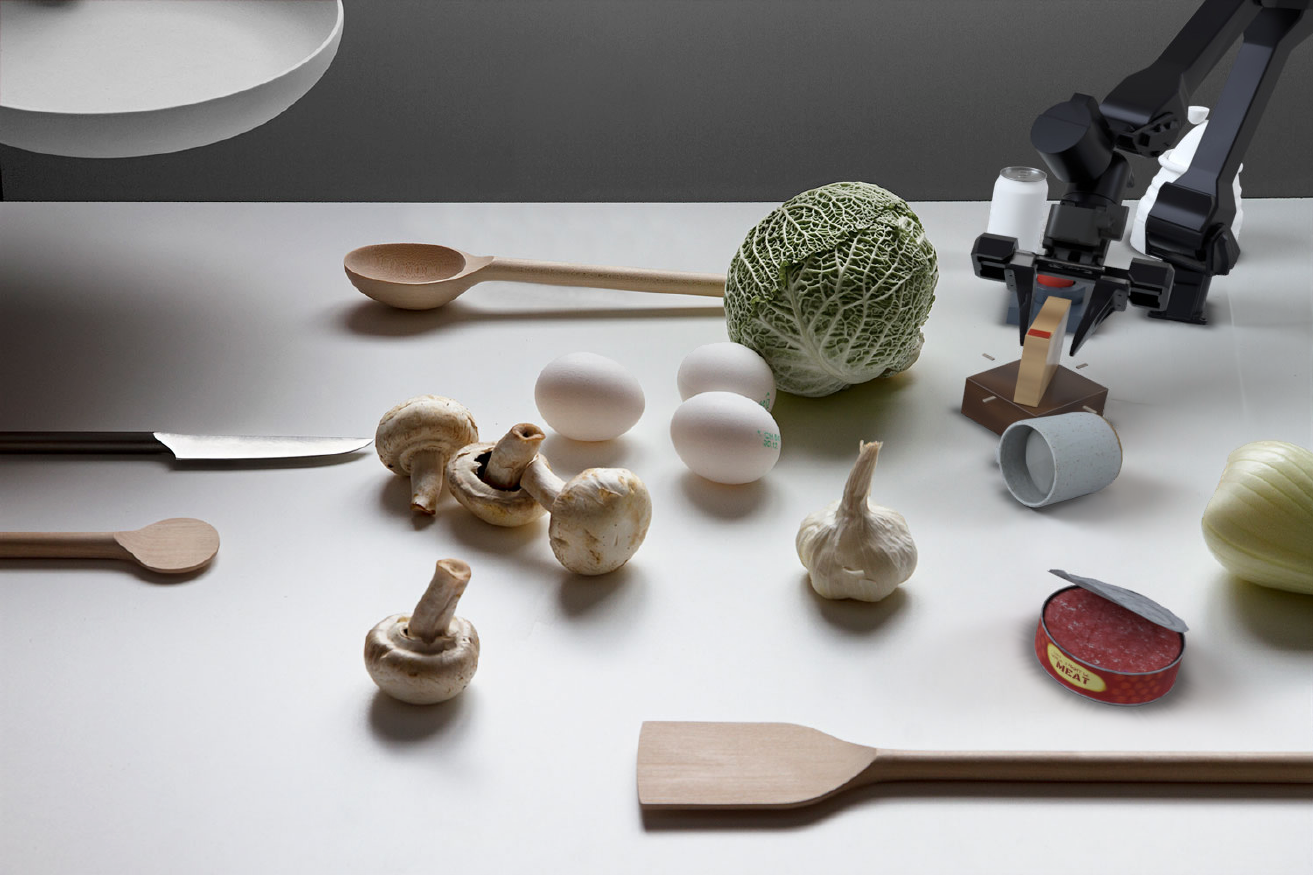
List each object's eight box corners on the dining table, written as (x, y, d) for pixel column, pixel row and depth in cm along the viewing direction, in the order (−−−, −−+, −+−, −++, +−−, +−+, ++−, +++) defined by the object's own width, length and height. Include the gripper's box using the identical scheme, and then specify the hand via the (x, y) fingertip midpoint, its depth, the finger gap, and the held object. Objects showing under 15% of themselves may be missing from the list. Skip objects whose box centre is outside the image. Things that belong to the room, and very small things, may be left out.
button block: (1014, 287, 140) (1019, 257, 138) (1091, 298, 137) (1098, 267, 135) (1005, 324, 131) (1010, 292, 129) (1087, 335, 128) (1094, 303, 126)
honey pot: (1118, 251, 150) (1148, 115, 140) (1144, 223, 159) (1173, 93, 149) (1221, 272, 143) (1260, 131, 134) (1242, 241, 152) (1280, 107, 143)
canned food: (1021, 681, 87) (1006, 553, 86) (1151, 663, 87) (1137, 535, 86) (1078, 728, 76) (1061, 581, 75) (1227, 707, 76) (1211, 561, 75)
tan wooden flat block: (1036, 359, 114) (1049, 293, 111) (1059, 364, 113) (1072, 297, 110) (1013, 402, 107) (1025, 333, 103) (1036, 407, 106) (1050, 337, 102)
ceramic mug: (1120, 502, 99) (1138, 426, 96) (1046, 524, 97) (1062, 447, 93) (1039, 446, 108) (1052, 374, 104) (969, 465, 105) (980, 392, 101)
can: (979, 269, 145) (993, 178, 138) (986, 252, 150) (1000, 163, 143) (1031, 277, 142) (1048, 184, 136) (1037, 258, 148) (1053, 168, 141)
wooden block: (1026, 372, 121) (1032, 337, 118) (1137, 430, 110) (1146, 392, 108) (926, 407, 114) (931, 370, 112) (1034, 471, 104) (1042, 433, 102)
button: (1038, 273, 134) (1041, 260, 133) (1073, 278, 133) (1076, 264, 132) (1035, 286, 131) (1038, 272, 130) (1071, 291, 130) (1074, 277, 129)
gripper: (989, 153, 110) (942, 299, 107) (1197, 181, 102) (1151, 340, 99) (997, 206, 120) (955, 341, 117) (1187, 236, 112) (1145, 381, 109)
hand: (1046, 350), depth 110 cm, fingers open, 4 cm apart
